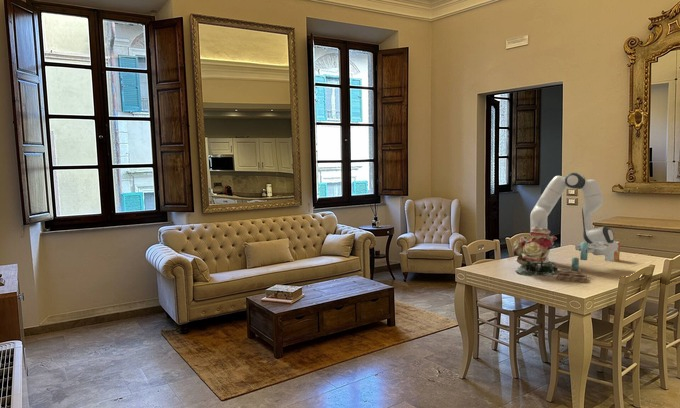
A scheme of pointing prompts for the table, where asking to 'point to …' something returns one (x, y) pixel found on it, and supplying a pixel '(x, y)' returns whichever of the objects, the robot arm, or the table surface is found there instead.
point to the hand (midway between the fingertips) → (583, 250)
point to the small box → (614, 254)
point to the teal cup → (574, 267)
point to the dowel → (584, 251)
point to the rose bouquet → (534, 252)
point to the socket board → (572, 277)
